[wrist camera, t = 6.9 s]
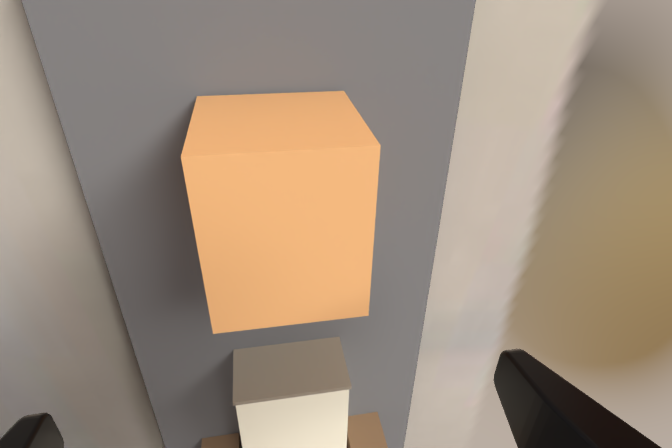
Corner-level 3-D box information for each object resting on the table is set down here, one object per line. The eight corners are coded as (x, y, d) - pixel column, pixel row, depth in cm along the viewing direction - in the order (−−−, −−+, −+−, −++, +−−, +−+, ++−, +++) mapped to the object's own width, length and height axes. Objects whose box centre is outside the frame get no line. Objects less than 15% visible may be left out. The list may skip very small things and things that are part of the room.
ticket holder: (394, 461, 32) (423, 559, 27) (187, 497, 30) (177, 611, 25) (467, -27, 16) (572, -10, 11) (26, -29, 14) (-99, -8, 9)
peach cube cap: (340, 233, 19) (368, 315, 15) (219, 243, 18) (213, 333, 14) (343, 90, 16) (380, 145, 12) (196, 96, 15) (180, 156, 11)
